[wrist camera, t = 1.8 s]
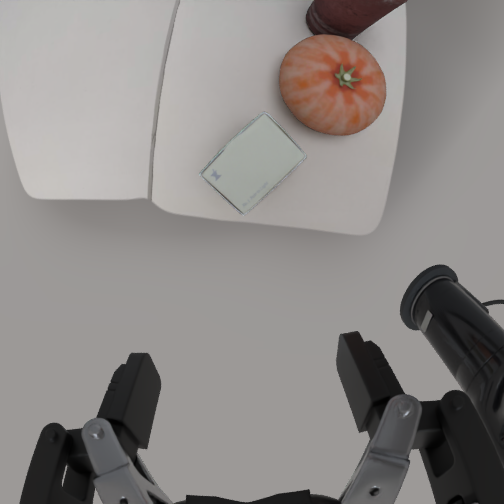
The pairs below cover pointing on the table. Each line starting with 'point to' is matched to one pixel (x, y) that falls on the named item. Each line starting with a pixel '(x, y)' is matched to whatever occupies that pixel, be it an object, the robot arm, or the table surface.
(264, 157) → the cosmetic box
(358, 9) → the rusty soda tin
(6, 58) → the table surface
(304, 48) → the tomato
